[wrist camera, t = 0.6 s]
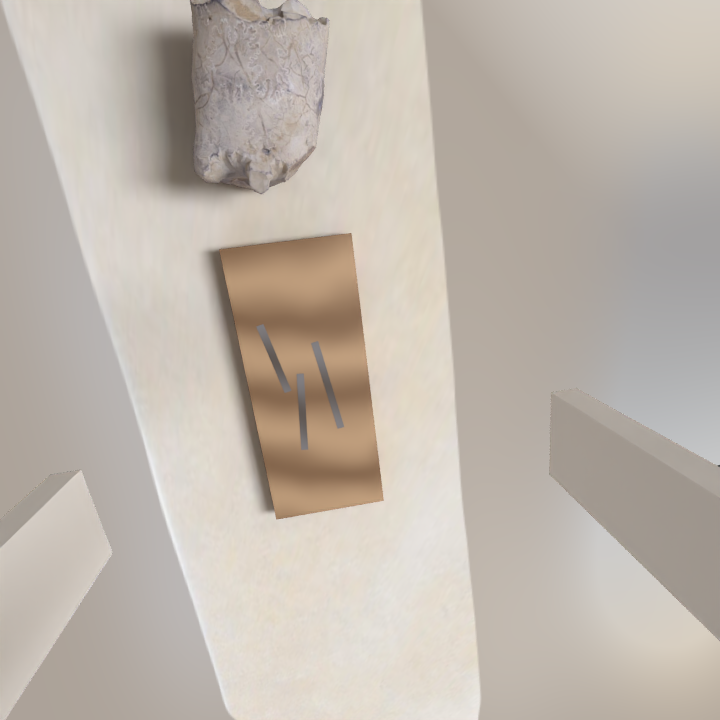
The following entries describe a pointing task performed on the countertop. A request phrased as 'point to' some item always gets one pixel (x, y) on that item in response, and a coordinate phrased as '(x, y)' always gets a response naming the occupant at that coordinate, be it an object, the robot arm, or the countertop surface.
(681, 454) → the robot arm
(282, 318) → the board
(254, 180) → the stone
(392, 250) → the countertop surface
